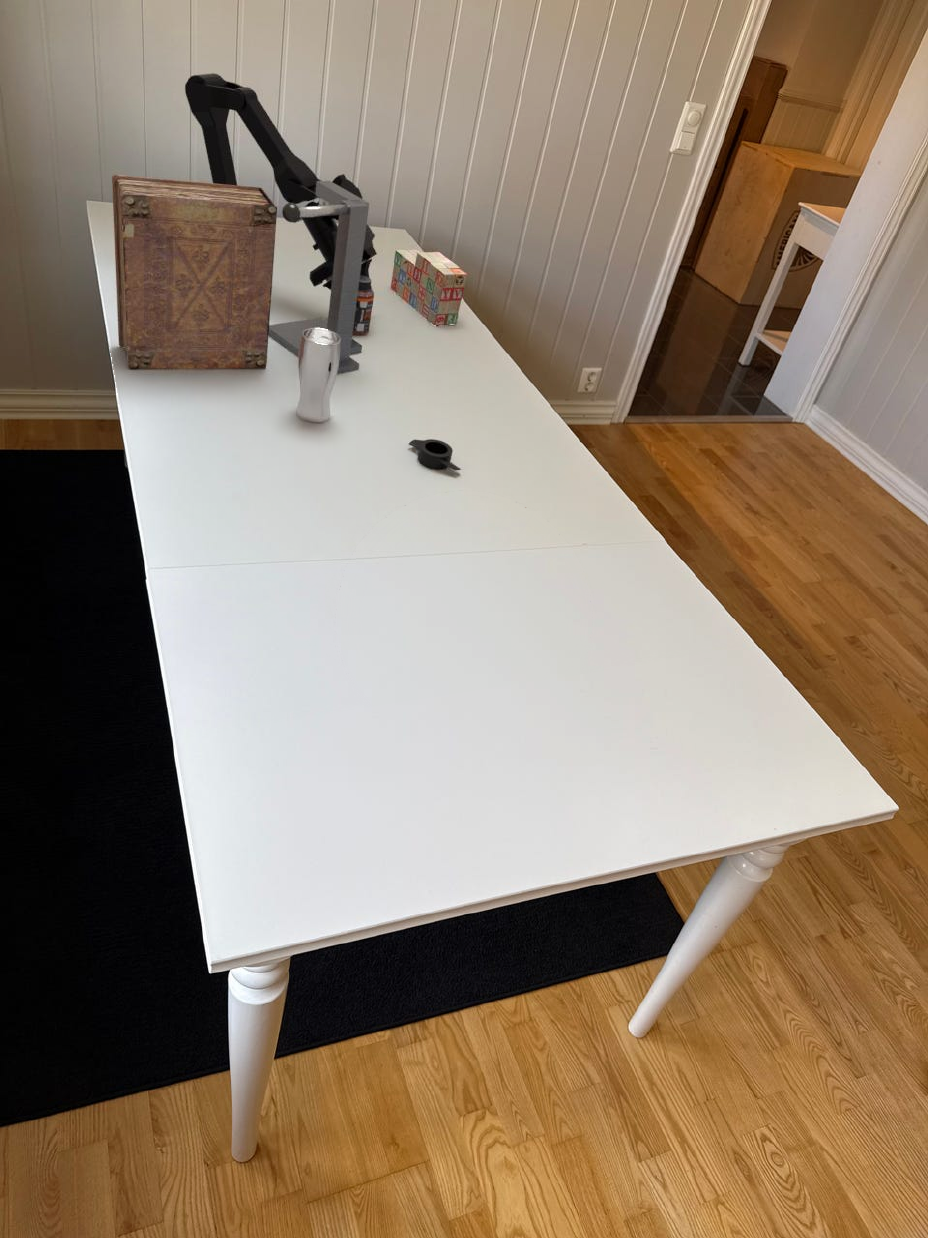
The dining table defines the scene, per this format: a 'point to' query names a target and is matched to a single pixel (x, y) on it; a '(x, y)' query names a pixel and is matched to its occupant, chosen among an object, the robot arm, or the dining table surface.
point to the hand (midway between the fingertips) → (364, 302)
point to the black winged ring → (434, 454)
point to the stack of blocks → (429, 284)
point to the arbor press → (334, 271)
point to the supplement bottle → (363, 306)
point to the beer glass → (317, 373)
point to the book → (193, 273)
